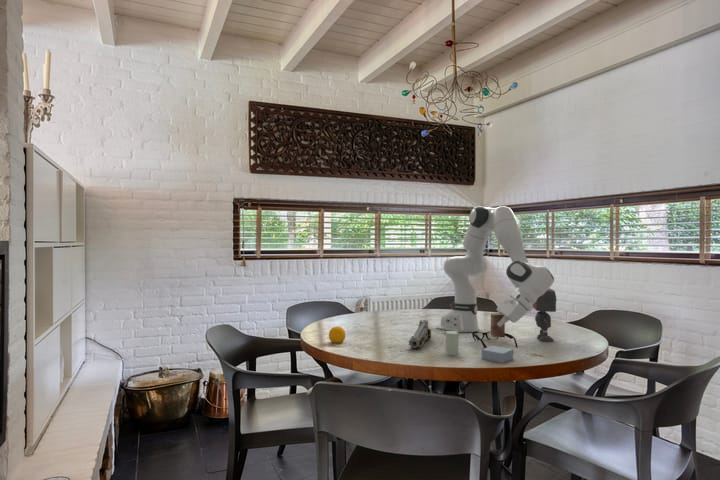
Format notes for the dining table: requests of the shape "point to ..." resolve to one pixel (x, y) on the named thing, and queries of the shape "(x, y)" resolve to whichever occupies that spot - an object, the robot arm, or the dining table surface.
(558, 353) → the dining table surface
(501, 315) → the walnut block
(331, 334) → the orange
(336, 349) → the dining table surface
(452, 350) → the sage block
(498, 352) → the slate pedestal
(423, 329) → the toy
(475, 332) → the glasses
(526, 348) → the dining table surface
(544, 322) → the toy robot
